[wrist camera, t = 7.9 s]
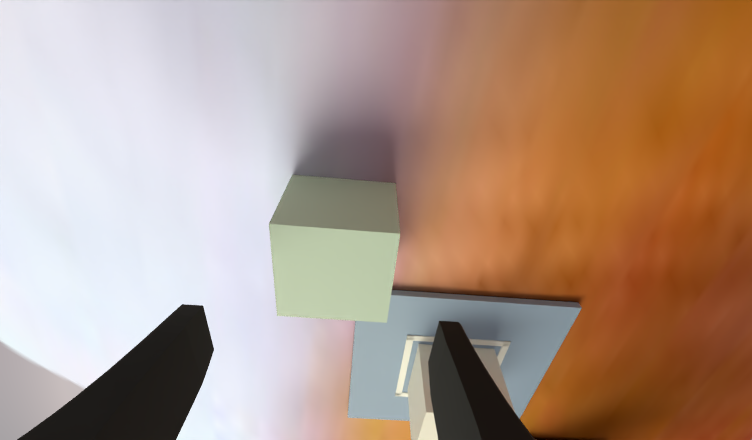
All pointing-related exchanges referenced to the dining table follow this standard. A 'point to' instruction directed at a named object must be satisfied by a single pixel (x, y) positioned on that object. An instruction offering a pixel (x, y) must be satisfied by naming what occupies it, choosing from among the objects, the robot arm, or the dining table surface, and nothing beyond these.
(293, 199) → the sage block
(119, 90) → the dining table surface
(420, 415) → the cream block
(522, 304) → the plate
